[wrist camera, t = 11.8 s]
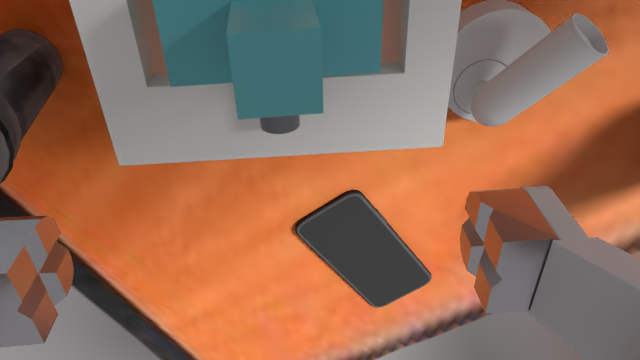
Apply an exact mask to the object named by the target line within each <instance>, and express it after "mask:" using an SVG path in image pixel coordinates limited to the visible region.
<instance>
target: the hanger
mask: <svg viewBox="0 0 640 360" xmlns="http://www.w3.org/2000/svg"><path fill="white" fill-rule="evenodd" d="M152 2H153V6H154V11H155V16H156V21H157V25H158V30H159V35H160V40H161V44H162V49H163V54H164V58H165V63H166V68H167V73H168V77H169V82H170V87H178V86H192V85H207V84H222V83H233V87H234V95H235V102H236V110H237V117H238V120H239V119H252V118H266V117H279V116H293V115H306V114H319V113H324V112H323V77H324V76H338V75H353V74H367V73H380V67H381V45H382V23H383V0H152Z"/></svg>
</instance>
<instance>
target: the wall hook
mask: <svg viewBox="0 0 640 360" xmlns="http://www.w3.org/2000/svg"><path fill="white" fill-rule="evenodd" d="M608 53H609V48H608V44H607V42H606V40H605V38H604V36H603V35H602V33H601V32H600V31H599V29H598V28H597V27H596V26H595V25H594V24H593V23H592V22H591V21H590V20H589V19H588V18H586V17H585V16H583V15H581V14H579V13H575V14H574V15H572V16H571V17H570V18H568V19H567V20H566V21H565V22H563V23H562V24H561V25H560V26H558V27H557V28H556V29H554V30H553V31H552V32H551V30H550V29H549V27H548V26H547V25H546V23H545V22H544V21H543V20H542V19H540V18H539V17H538V16H536V15H535V14H533V13H532V12H530V11H529V10H527V9H526V8H524V7H523V6H521V5H519V4H517V3H514V2H511V1H507V0H487V1H483V2H479V3H476V4H474V5H471V6H469V7H467V8H466V9H464V10H462V11H461V12H460V19H459V26H458V34H457V42H456V49H455V57H454V64H453V72H452V80H451V87H450V95H449V103H448V107H449V109H450V110H452V111H453V112H454V113H455V114H457V115H458V116H460V117H462V118H464V119H466V120H470V121H474V122H479V123H480V124H482V125H485V126H499V125H502V124H504V123H506V122H508V121H509V120H511V119H512V118H514V117H515V116H517V115H519V114H520V113H521V112H523V111H524V110H526V109H527V108H529V107H530V106H532V105H533V104H535V103H536V102H538V101H539V100H541V99H542V98H544V97H545V96H547V95H548V94H550V93H551V92H553V91H554V90H555V89H557V88H558V87H560V86H561V85H563V84H564V83H566V82H567V81H569V80H570V79H572V78H573V77H575V76H576V75H578V74H579V73H581V72H582V71H584V70H585V69H587V68H588V67H589V66H591V65H592V64H594V63H595V62H597V61H598V60H600V59H601V58H603V57H604V56H606V55H607V54H608Z"/></svg>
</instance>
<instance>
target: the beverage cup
mask: <svg viewBox="0 0 640 360" xmlns="http://www.w3.org/2000/svg"><path fill="white" fill-rule="evenodd" d="M62 67H63V66H62V62H61V57H60V56H59V54H58V52H57V50H56V48H55V47H54V46H53V45H52V44H51V43H50V42H49V41H48V40H47V39H45V38H44V37H42V36H41V35H39V34H37V33H34V32H31V31H28V30H20V29H15V30H11V31H8V32H5V33H4V34H1V35H0V183H1V182H3V181H4V180H5V179H6V177H7V175H8V174H9V172H10V171H11V169H12V167H13V161H14V159H15V157H16V155H17V152H18V150H19V147H20V142H21V140H22V139H23V137H24V135H25V134H26V132H27V131H28V129H29V128H30V126H31V124H32V123H33V121H34V120H35V118H36V117H37V115H38V114H39V112H40V110H41V109H42V107H43V106H44V104H45V103H46V101H47V99H48V98H49V96H50V95H51V93H52V91H53V90H54V88H55V87H56V84H57V82H58V80H59V78H60V77H61V74H62Z"/></svg>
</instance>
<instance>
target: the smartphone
mask: <svg viewBox="0 0 640 360" xmlns="http://www.w3.org/2000/svg"><path fill="white" fill-rule="evenodd" d="M295 230H296V233H297V234H298V235H299V236H300V237H301V238H302V239H303V241H304V242H305V243H306V244H308V245H309V246H310V248H311V249H312V250H313V251H314V252H316V253H317V254H318V255H319V256H320V257H321V258H322V259H323V260H324V261H326V262H327V263H328V264H329V265H330V266H331V267H332V268H333V269H334V270H335V271H336V272H337V273H338V274H339V275H340V276H342V277H343V278H344V279H345V280H346V281H347V282H348V283H349V284H350V285H351V286H352V287H353V288H354V289H355V290H356V291H357V292H358V293H359V294H360V295H361V296H362V297H363V298H365V299H366V300H367V301H368V302H369V303H370V304H371V305H372V306H373V307H383V306H386V305H388V304H389V303H391V302H393V301H395V300H397V299H399V298H401V297H403V296H405V295H407V294H409V293H411V292H413V291H415V290H417V289H419V288H421V287H422V286H424V285H426V284H427V283H429V281H430V280H431V273H430V272H429V271H428V269H427V268H426V267H425V266H424V265H423V264H422V262H421V261H420V260H419V259H418V258H417V257H416V255H415V254H414V253H413V252H412V251H411V250H410V248H409V247H408V246H407V245H406V244H405V243H404V241H403V240H402V239H401V238H400V237H399V236H398V234H397V233H396V232H395V231H394V230H393V229H392V227H391V226H390V225H389V224H388V223H387V221H386V219H385V218H384V217H383V216H382V215H381V214H380V212H379V211H378V210H377V209H375V208H374V206H373V205H372V204H371V203H370V202H369V201H368V200H367V198H366V197H365V196H364V195H363V194H362V193H361V192H360V191H358V190H351V191H348V192H345V193H344V194H342V195H340V196H339V197H337V198H335V199H334V200H332V201H330V202H329V203H327V204H326V205H324V206H322V207H321V208H319V209H317V210H316V211H314V212H312V213H311V214H309V215H307V216H306V217H304V218H302V219H301V220H300V221H299V222H298V223H297V224H296V228H295Z"/></svg>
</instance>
